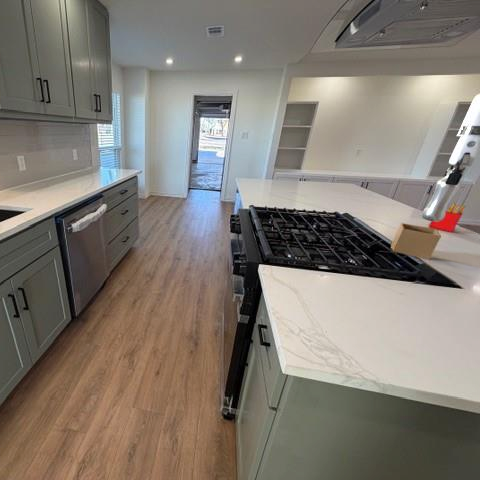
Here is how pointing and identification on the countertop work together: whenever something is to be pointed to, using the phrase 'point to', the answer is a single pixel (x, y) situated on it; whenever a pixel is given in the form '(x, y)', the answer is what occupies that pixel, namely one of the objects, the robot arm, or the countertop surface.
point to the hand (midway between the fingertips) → (449, 182)
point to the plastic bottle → (440, 200)
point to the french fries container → (448, 219)
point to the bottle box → (415, 240)
